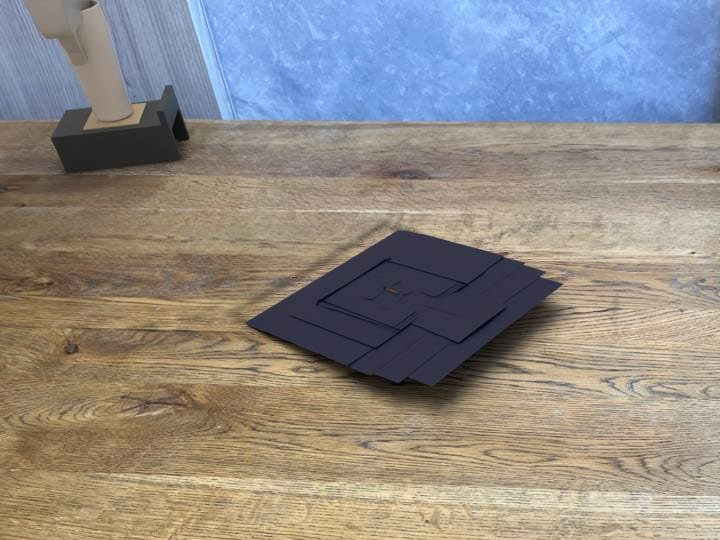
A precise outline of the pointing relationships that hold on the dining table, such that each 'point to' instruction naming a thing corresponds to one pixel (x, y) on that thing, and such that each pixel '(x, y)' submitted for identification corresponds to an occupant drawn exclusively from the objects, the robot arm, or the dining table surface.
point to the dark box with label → (121, 136)
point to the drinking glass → (100, 68)
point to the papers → (408, 306)
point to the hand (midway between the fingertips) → (88, 51)
